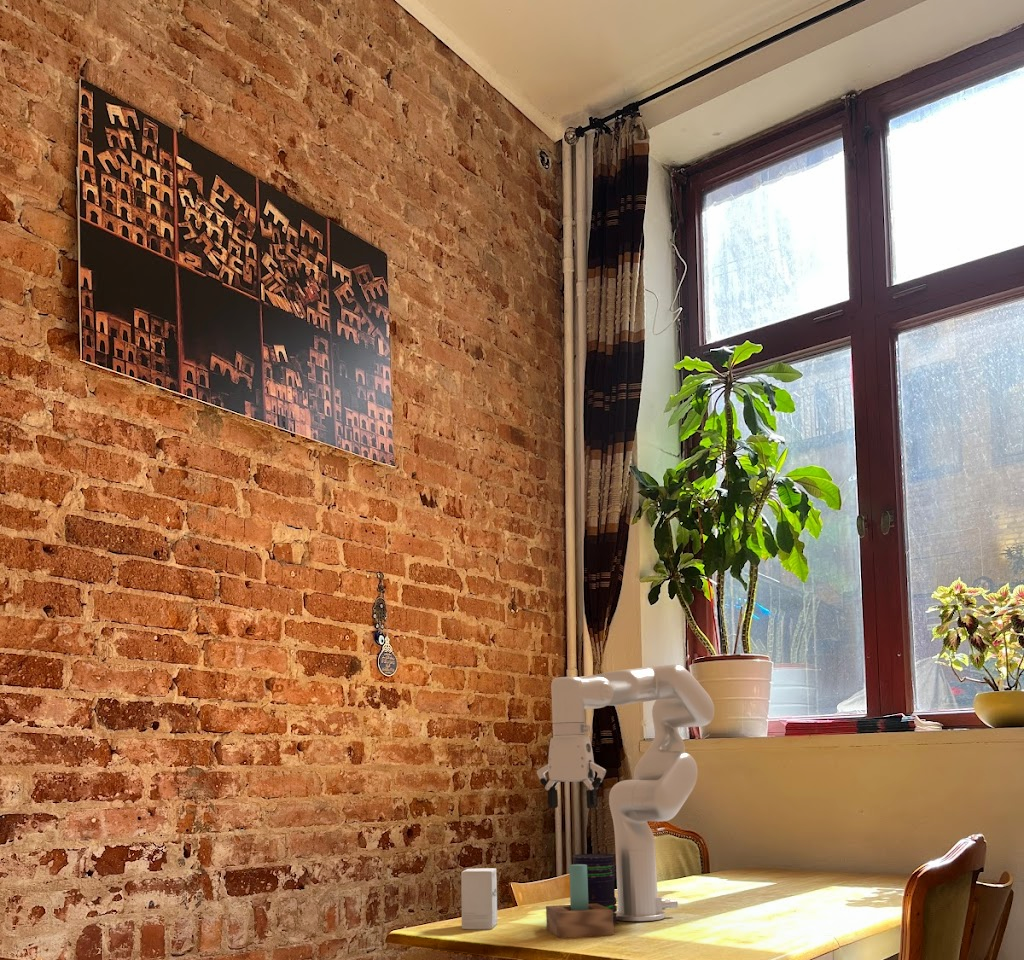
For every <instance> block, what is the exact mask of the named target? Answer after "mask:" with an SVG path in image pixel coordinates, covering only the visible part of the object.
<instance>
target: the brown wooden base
mask: <svg viewBox="0 0 1024 960" xmlns="http://www.w3.org/2000/svg"><path fill="white" fill-rule="evenodd" d="M545 914H546V915H545V917H546V920H545V921H546V930H547V931H548V932H550V933H551V934H553V935H554V934H555V936H556V937H558V938H559V937H560V938H559V939H565V938H566V939H567V937H570V938H583V937H597V936H598V937H600V936H614V935H615V934H614V933H615V932H614V931H615V928H614V925H613V910H611V909H609V908H606V907H604V906H602V905H600V904H597V903H595V904H589V910H574V911H571V904H563V905H546V906H545Z"/></svg>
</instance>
